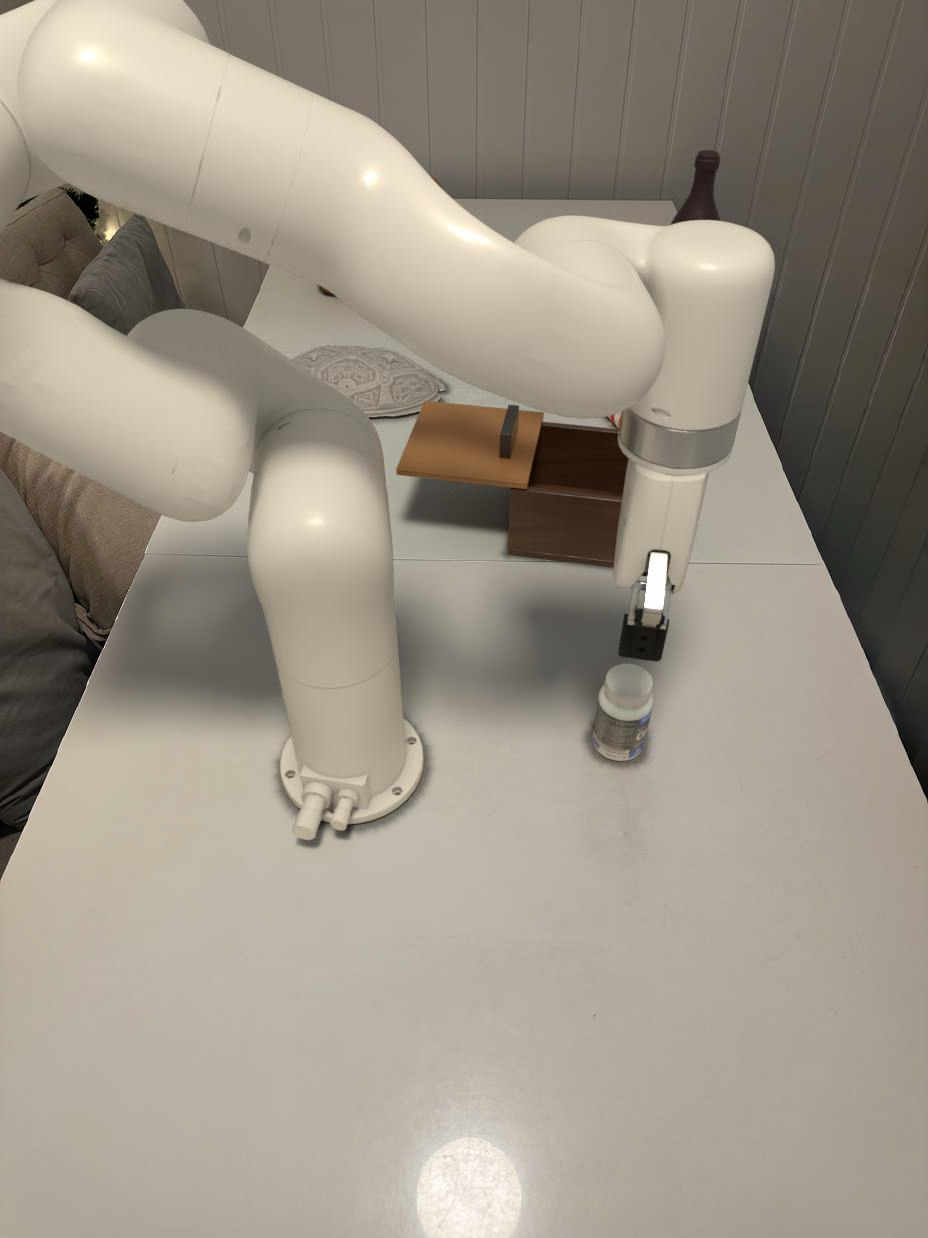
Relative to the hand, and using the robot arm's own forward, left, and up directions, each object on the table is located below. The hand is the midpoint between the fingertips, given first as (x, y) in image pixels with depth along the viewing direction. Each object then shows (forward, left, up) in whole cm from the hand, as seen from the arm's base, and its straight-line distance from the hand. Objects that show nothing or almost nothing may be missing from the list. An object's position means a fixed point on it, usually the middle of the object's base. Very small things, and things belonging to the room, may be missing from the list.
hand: (642, 613), depth 72 cm
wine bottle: (+66, -3, -16) cm, 68 cm away
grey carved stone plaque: (+55, +40, -16) cm, 70 cm away
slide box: (+31, +7, -16) cm, 36 cm away
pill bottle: (0, 0, -16) cm, 16 cm away
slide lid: (+31, +19, -7) cm, 37 cm away
